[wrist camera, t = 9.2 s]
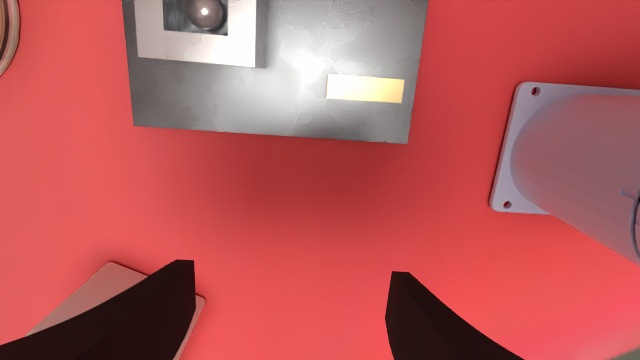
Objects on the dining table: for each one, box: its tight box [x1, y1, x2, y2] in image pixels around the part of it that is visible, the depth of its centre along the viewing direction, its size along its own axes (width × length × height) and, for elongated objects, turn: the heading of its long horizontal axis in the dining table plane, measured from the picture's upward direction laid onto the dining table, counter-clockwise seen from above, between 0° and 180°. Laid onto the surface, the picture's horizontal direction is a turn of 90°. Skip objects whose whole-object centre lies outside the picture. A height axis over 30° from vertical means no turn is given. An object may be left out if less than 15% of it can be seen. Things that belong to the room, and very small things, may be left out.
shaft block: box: [122, 0, 429, 144], centre depth 17 cm, size 16×12×4 cm
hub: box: [134, 0, 268, 69], centre depth 16 cm, size 5×5×4 cm
